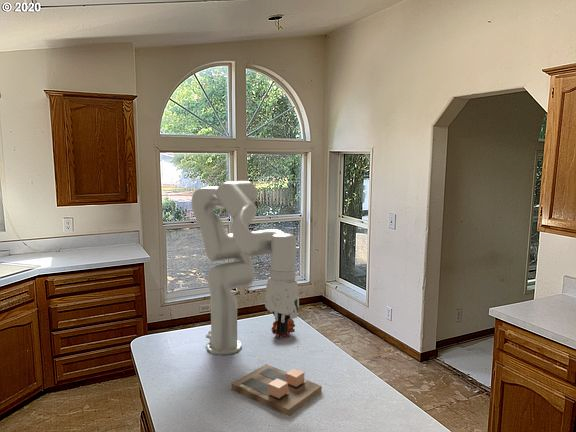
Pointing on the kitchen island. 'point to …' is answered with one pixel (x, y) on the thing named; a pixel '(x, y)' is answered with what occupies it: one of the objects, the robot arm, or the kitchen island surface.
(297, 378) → the tab
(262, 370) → the switch board
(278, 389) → the tab
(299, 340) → the kitchen island surface
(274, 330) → the dragon fruit
